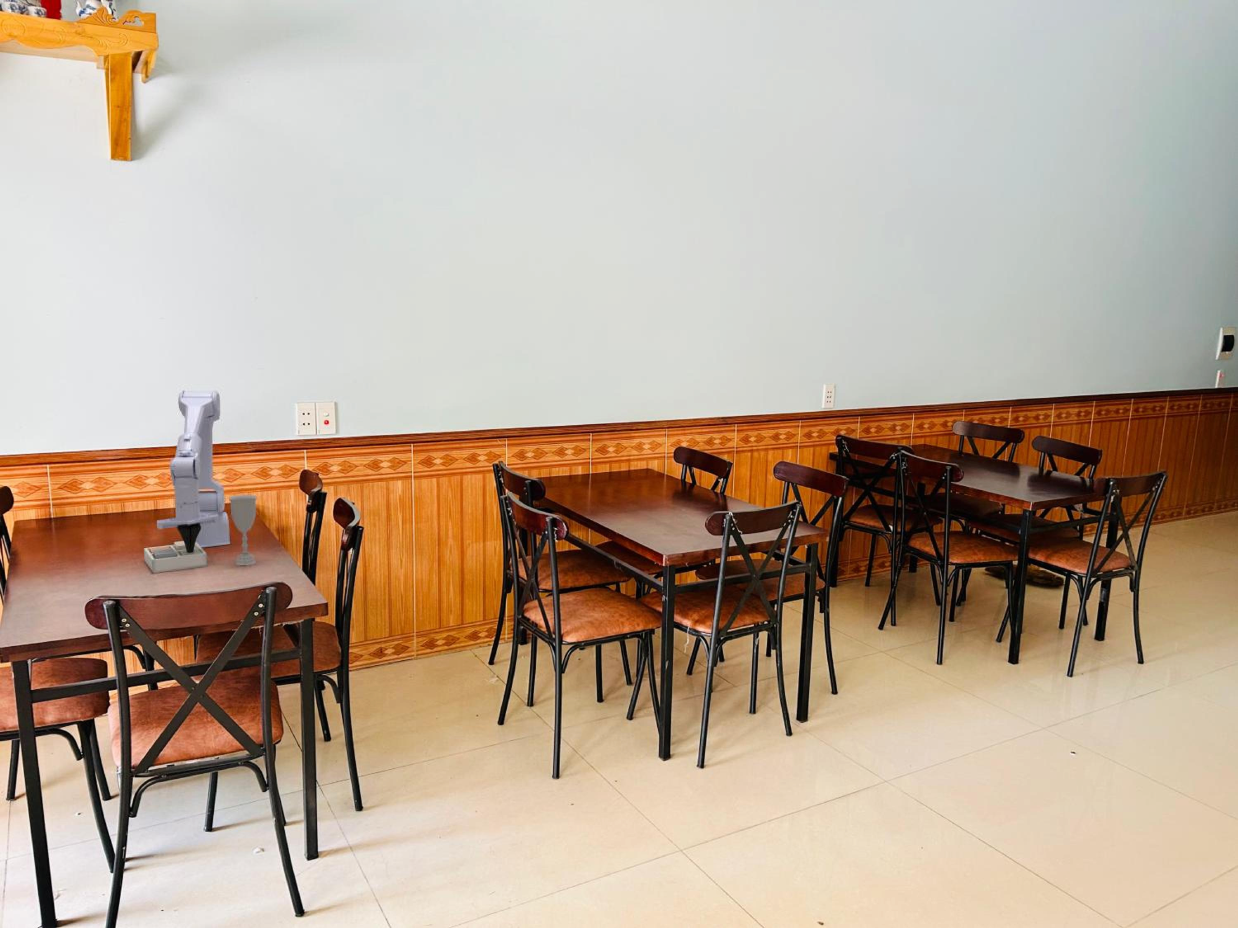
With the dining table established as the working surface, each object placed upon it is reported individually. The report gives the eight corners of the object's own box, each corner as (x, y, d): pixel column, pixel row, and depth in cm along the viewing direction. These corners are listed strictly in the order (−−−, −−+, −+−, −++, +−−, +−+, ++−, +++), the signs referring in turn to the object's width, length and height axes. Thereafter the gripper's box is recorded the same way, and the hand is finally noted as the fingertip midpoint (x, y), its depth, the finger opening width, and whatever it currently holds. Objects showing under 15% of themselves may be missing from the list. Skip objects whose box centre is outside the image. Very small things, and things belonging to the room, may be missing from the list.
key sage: (198, 557, 242) (197, 548, 241) (201, 561, 238) (201, 552, 238) (179, 559, 239) (178, 550, 239) (182, 564, 235) (182, 555, 235)
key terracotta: (168, 554, 243) (168, 546, 243) (171, 559, 239) (171, 550, 239) (149, 557, 240) (149, 548, 240) (152, 561, 237) (152, 552, 236)
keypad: (196, 554, 248) (196, 541, 248) (207, 566, 238) (206, 553, 237) (144, 560, 241) (143, 548, 240) (153, 573, 231) (152, 560, 230)
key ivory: (193, 548, 246) (192, 539, 246) (196, 552, 243) (196, 543, 242) (174, 550, 244) (174, 542, 243) (177, 555, 240) (177, 546, 240)
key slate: (172, 557, 238) (172, 548, 238) (176, 561, 234) (175, 552, 234) (153, 559, 235) (153, 550, 235) (156, 564, 232) (156, 554, 231)
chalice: (265, 561, 244) (263, 496, 241) (247, 567, 238) (244, 501, 235) (243, 557, 246) (240, 493, 243) (225, 564, 240) (222, 498, 237)
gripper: (159, 507, 228) (162, 559, 231) (220, 502, 237) (222, 551, 239) (154, 502, 234) (157, 552, 236) (214, 496, 242) (216, 545, 245)
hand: (189, 551), depth 238 cm, fingers closed, pressing on key sage
